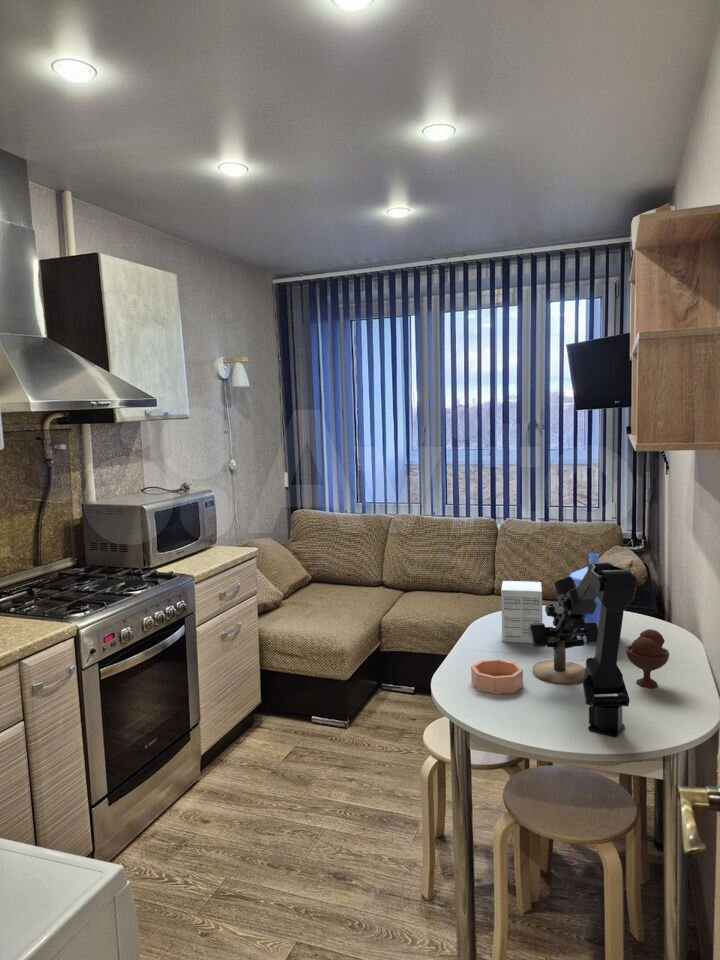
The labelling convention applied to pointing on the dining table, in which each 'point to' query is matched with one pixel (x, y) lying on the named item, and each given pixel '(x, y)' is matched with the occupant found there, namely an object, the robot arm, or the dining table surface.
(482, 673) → the terracotta bowl
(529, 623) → the supplement box
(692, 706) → the dining table surface
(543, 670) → the walnut lid
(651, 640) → the ice cream bowl
